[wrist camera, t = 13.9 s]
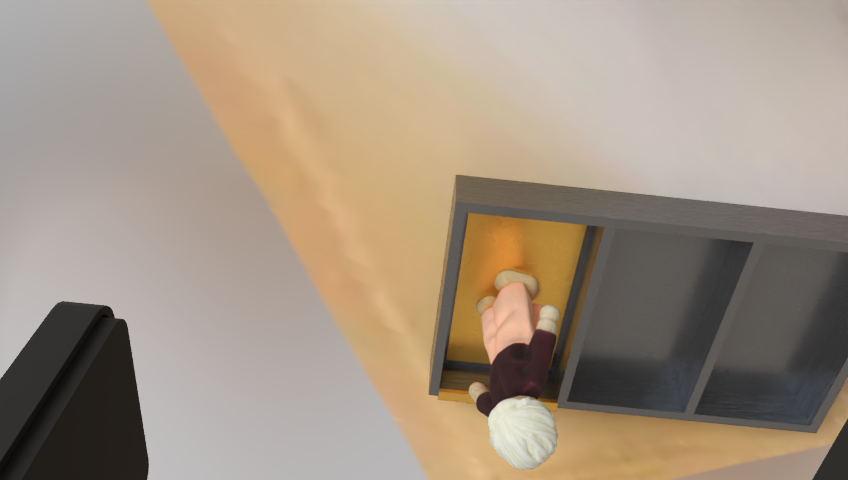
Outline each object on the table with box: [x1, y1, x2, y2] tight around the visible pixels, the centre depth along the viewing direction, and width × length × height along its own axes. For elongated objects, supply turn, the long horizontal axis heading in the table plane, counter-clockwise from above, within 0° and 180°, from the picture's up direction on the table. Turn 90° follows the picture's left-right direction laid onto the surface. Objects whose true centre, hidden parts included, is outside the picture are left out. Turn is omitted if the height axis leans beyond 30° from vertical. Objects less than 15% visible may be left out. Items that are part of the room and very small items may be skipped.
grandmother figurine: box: [469, 270, 560, 470], centre depth 40 cm, size 8×4×13 cm, turn 161°
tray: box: [429, 175, 848, 433], centre depth 45 cm, size 25×14×3 cm, turn 84°
